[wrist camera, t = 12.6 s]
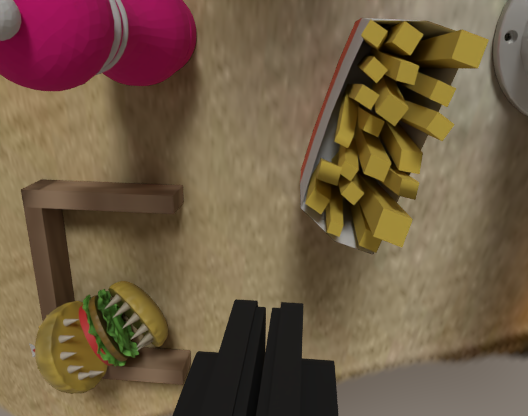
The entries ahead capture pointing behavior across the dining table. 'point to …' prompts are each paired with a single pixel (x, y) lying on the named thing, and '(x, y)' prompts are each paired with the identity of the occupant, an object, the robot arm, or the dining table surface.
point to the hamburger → (96, 336)
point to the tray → (57, 261)
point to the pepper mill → (93, 41)
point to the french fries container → (381, 126)
